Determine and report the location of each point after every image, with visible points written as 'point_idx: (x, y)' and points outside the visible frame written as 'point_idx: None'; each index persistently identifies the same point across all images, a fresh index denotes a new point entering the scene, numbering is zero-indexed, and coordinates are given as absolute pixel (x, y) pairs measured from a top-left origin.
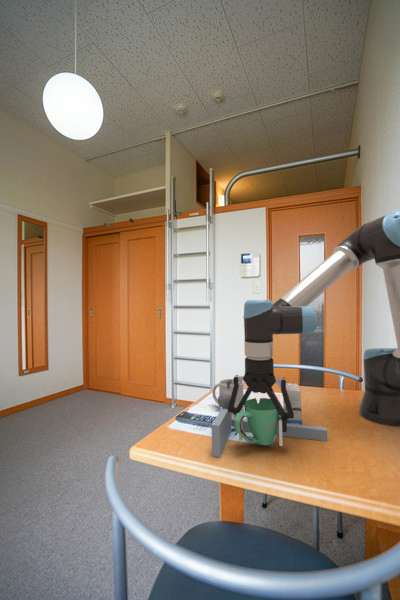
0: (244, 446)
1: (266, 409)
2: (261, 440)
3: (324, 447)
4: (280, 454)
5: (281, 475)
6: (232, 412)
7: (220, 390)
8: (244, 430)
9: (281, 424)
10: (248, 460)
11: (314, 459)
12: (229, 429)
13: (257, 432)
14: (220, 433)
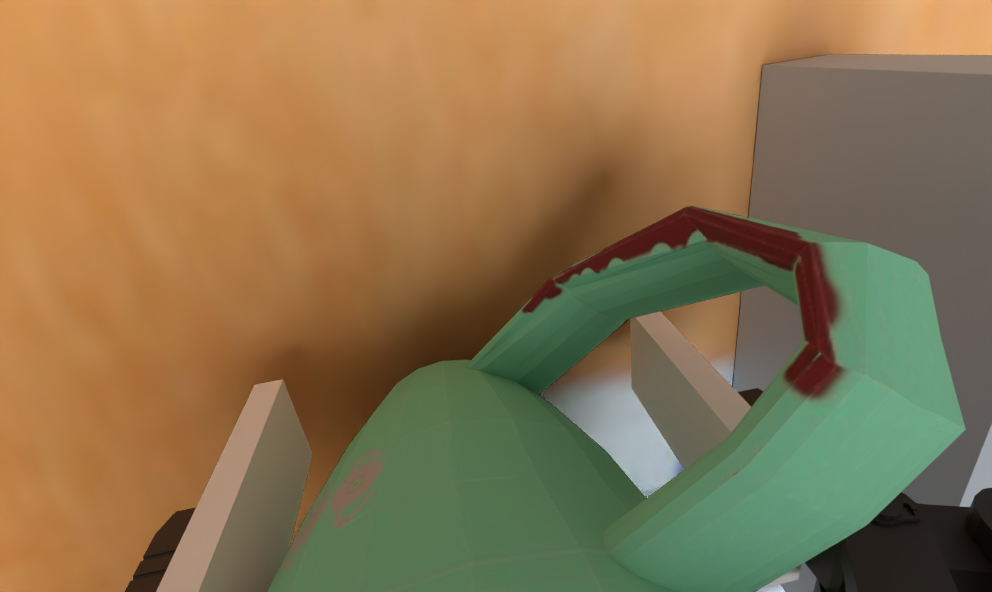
0: None
1: None
2: (454, 371)
3: (30, 562)
4: (291, 339)
5: (150, 8)
6: (936, 511)
7: None
8: None
9: (169, 572)
10: (513, 133)
11: (13, 388)
12: None
13: (498, 398)
14: (938, 136)
